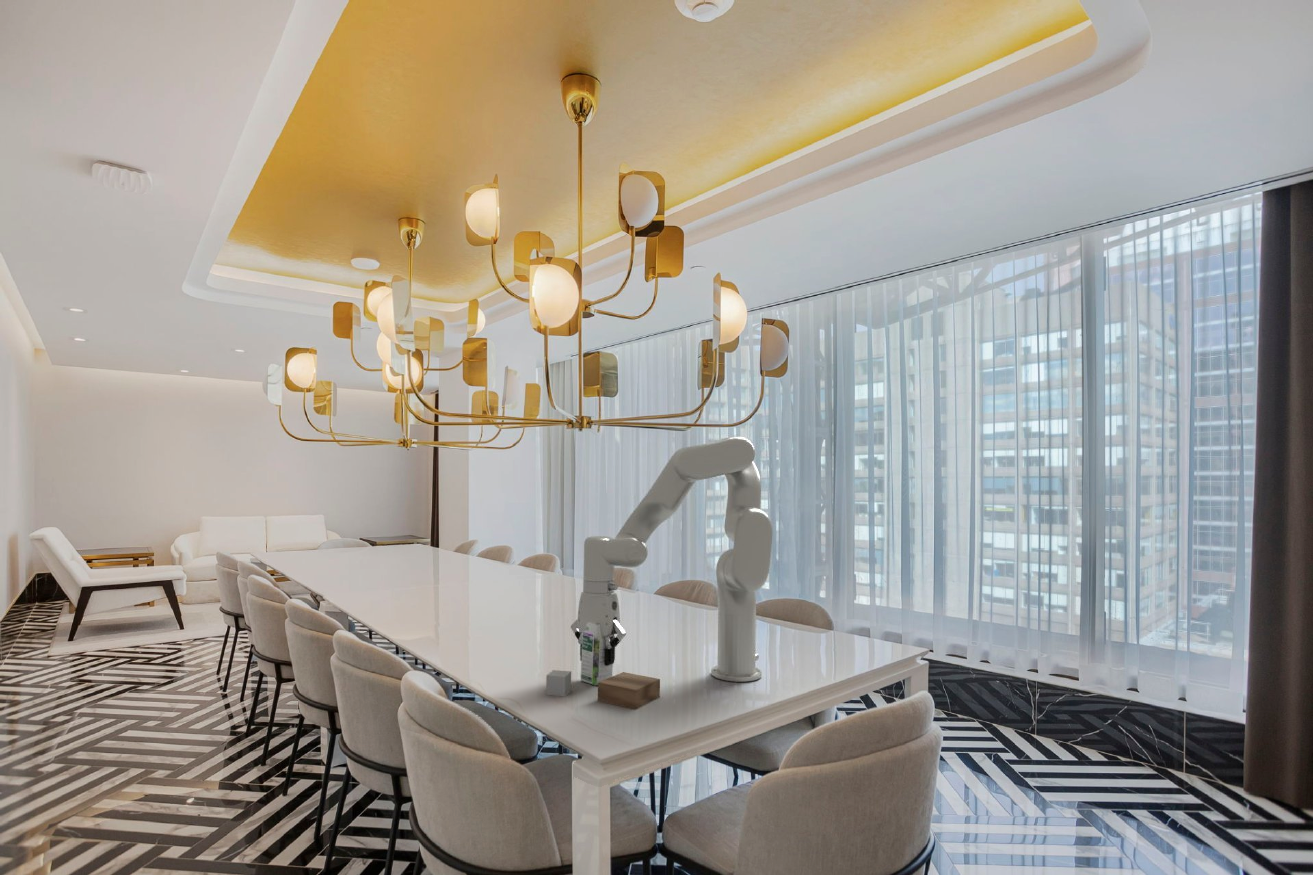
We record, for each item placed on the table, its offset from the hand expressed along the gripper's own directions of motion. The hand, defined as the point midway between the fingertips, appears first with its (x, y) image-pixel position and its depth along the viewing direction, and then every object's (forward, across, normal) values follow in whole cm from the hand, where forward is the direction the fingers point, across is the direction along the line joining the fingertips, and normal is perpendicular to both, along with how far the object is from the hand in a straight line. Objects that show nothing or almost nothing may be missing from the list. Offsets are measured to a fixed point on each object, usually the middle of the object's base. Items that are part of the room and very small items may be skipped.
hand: (597, 661), depth 168 cm
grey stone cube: (+5, +2, +12) cm, 13 cm away
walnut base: (+5, -14, +7) cm, 16 cm away
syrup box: (+5, 0, 0) cm, 5 cm away
